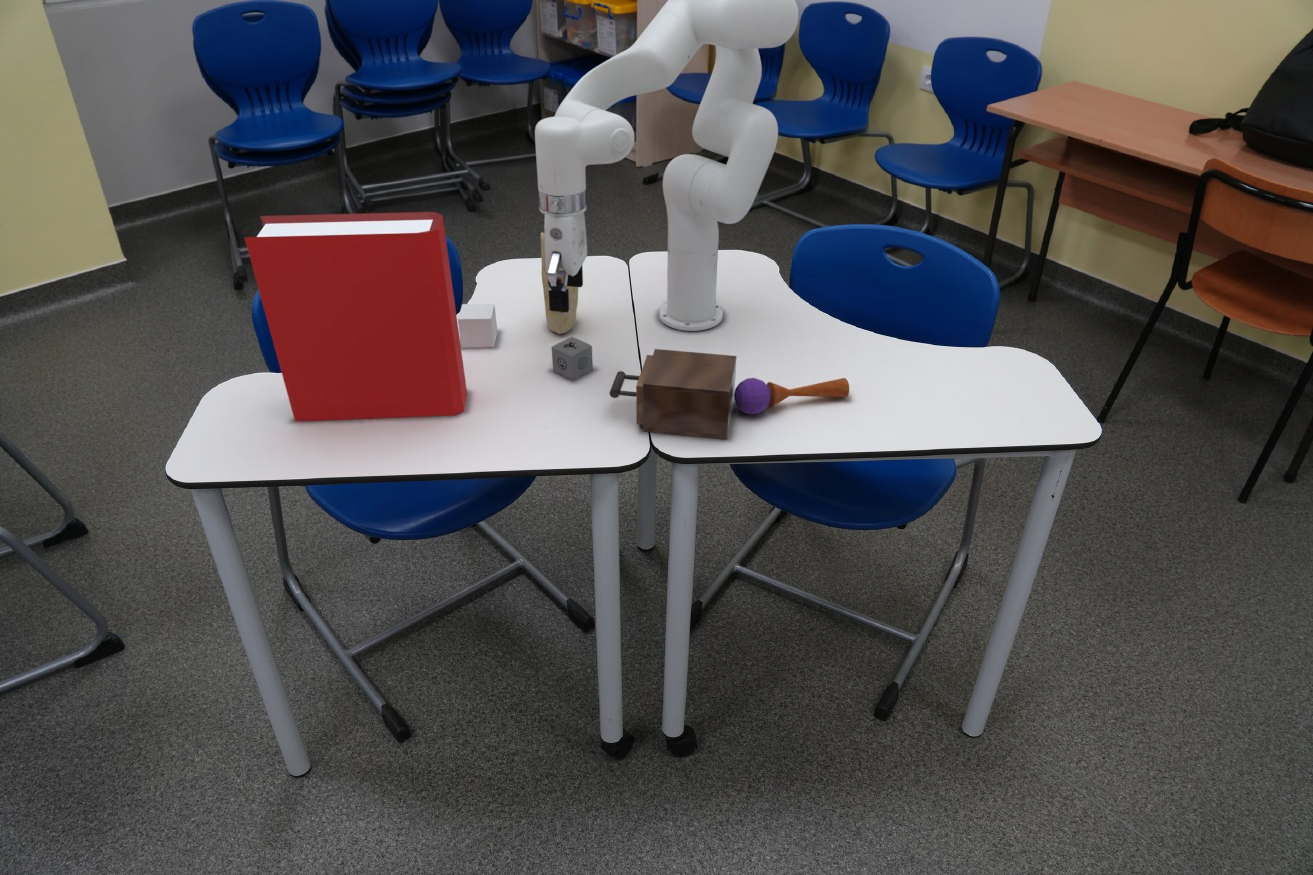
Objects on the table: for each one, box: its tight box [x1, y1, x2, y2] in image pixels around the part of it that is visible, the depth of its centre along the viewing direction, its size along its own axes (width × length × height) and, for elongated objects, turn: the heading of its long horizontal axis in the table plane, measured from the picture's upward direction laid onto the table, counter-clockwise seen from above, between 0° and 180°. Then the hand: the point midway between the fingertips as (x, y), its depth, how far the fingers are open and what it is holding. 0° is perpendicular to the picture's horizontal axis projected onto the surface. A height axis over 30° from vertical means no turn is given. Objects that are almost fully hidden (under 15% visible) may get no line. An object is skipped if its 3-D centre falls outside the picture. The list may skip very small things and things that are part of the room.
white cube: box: [457, 303, 498, 349], centre depth 169 cm, size 6×6×6 cm
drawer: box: [608, 354, 653, 426], centre depth 148 cm, size 17×10×7 cm, turn 81°
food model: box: [540, 231, 579, 335], centre depth 170 cm, size 10×7×20 cm
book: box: [244, 211, 468, 422], centre depth 143 cm, size 27×8×32 cm, turn 94°
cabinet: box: [642, 348, 737, 440], centre depth 147 cm, size 14×11×9 cm
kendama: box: [734, 377, 850, 415], centre depth 151 cm, size 6×6×20 cm
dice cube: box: [550, 336, 594, 382], centre depth 160 cm, size 5×5×5 cm
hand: (566, 298), depth 153 cm, fingers open, 9 cm apart
